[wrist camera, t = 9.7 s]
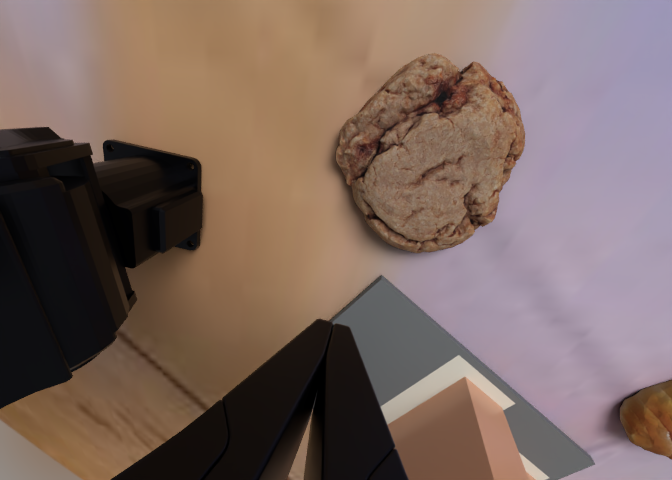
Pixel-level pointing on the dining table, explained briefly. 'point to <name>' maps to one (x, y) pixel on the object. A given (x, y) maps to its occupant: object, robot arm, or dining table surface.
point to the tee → (457, 438)
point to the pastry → (650, 418)
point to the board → (445, 375)
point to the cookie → (431, 153)
